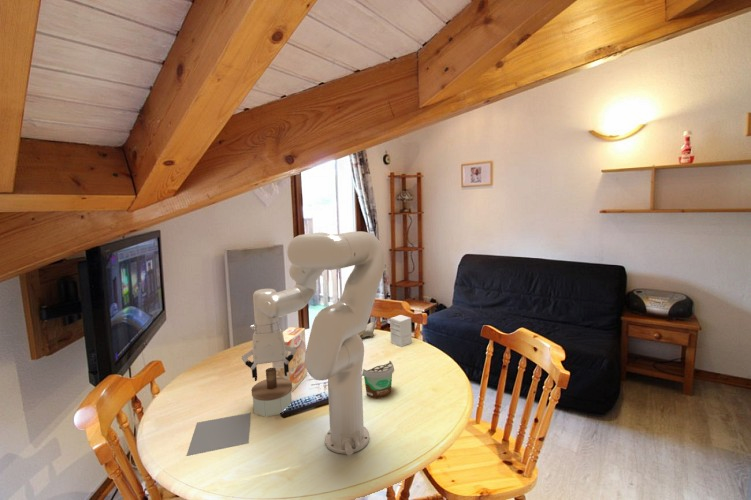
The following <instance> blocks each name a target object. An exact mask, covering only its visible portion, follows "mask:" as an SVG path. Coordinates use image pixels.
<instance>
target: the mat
mask: <svg viewBox="0 0 751 500" xmlns="http://www.w3.org/2000/svg"><path fill="white" fill-rule="evenodd" d="M251 416H252V413H251V412H247V413H242V414H237V415H231V416H226V417H220V418H215V419H209V420H204V421H199V422H196V425H195V428H194V430H193V434H192V437H191V441H190V443H189V446H188V449H187V453H186V455H185V456H186V457H189V456H193V455H198V454H203V453H208V452H213V451H218V450H219V451H220V450H224V449H227V448H228V449H229V448H232V447H238V446H242V445H247V444H249V443H250V433H251V432H250V431H251V430H250V429H251V418H252V417H251Z"/></svg>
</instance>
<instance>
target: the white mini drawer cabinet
mask: <svg viewBox="0 0 751 500" xmlns="http://www.w3.org/2000/svg"><path fill="white" fill-rule="evenodd" d="M389 321H390V322H389V324H390V325H389V326H390V327H389V328H390V343H391V344H393V345H395V346H398V347H400V348H402V347H405V346H408V345H409V344H412V343H413V342H412V339H413V337H412V335H413V333H412V317H409V316H405V315H403V314H399V315H396V316H394V317H390V318H389Z"/></svg>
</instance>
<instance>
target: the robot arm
mask: <svg viewBox="0 0 751 500" xmlns="http://www.w3.org/2000/svg"><path fill="white" fill-rule="evenodd" d="M286 254H287V258H288V261H289V262H290V263H291V265H290V266H289V269H288V270H289V271H288V272H289V276H290V278H291V279H292V280H293V282H294V283H295V285H294V286H293V287H291V288H288V289H285V290H280V291H277V290H276V289H275V288H261V289H260V288H259V289H257V290H255V291H254V292H253V294H252V299H253V300H252V301H253V313H254V314H253V315H254V324H252V325H250V330H254V332H253V334H252V349H251V350H249V351H248V352H246V353H244V354H242V356H241V360H242V362H244V364H245V366H246V367H248V368H250V370H251V378H252V379H254V382H256V381H257V380H258V368H257V367H258V365H264V364H269V363H271V364H272V362H278V361H283V362H284V373H285V376H287V372H289V367H288V364H289V362H290V361H291V360H292V359H293V357H294V355H295V353H296V349H295V348H293V347H290V346H287V345H285V343H284V336H283V332H284V331H283V330H282V328H280V319H279V318H281V317H285V316H286V315H289V314H292V313H295V312H297V311H301V310H302V309H304V308H305V307H306V306H307V305H308V304H309V303H310V301H312V299H313V298H314V297H315V295H316V292H317V280H318V279H319V278H320V276H321V275H322V273H324V271H332V270H334V271H335V270H341V269H345V268H349V267H353V266H354V267H353V269H352V271H351V272H350V274H349V276H348V277H347V279H346V281H345V283H344V289H343V292H342V295H341V297H340V299H339V300H338V301H337V302H336V303H334V304H331V305H328V306H326V307H323V308H322V309H321V310H320V311H318V313H317V314H316V316H315V317H314V318H313V322H312V326H311V329H310V333H309V337H308V341H307V344H306V354H305V364H306V368H307V374H309V376H311V378H313V379H314V380H316V381H326V380H327V395H328V397H327V398H328V415H329V430H328V431H327V432H326V434H325V437H324V440H325V441H324V442H325V446H326V448H327V449H328V450H330V451H332V452H334V453H335V454H336V453H337V454H343V455H347V456H352V455H353V454H354V453H357V452H359V451H361V450H362V449H364V448H365V447H366V446H367V445H368V443H369V442H370V431H369V430H368V429H367V427H365V426H364V404H363V403H364V401H363V375H362V373H363V364H364V356H365V345H364V341H363V338H361V337H360V336H359V335H358V333H360V332H362V331H363V330H364V329H365V328H366V326H367V324H369V320H370V317H371V313H372V311H373V307H374V303H375V300H376V297H377V293H378V289H379V286H380V284H381V281H382V278H383V275H384V271H385V266H386V253H385V250H384V247H383V245H382V243H381V241H380V240H379V238H377V237H376V236H375V235H374V234H372V233H371V232H367V231H350V232H344V233H336V234H335V233H333V234H329V233H327V232H314V233H307V234H304V233H303V234H299V235H297V236H295V237H293V238H292V239H291V241H290V242H289V243H288V246H287V253H286ZM285 350H287V351H290V352H291V353H290V355H289V356H288V357H286V356H285ZM251 356H252V361H251V360H250V359H249V358H251Z"/></svg>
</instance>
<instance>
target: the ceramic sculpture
mask: <svg viewBox="0 0 751 500" xmlns="http://www.w3.org/2000/svg"><path fill="white" fill-rule="evenodd" d="M374 332H375V321H372V322H368V324H367V326H366V328H365V329H364V330H363V331H362V332H360V333H358V335H359V336H360V337H361V339H363V338H366V337H369V338H370V337H371V338H372V337H373V336H374Z"/></svg>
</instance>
